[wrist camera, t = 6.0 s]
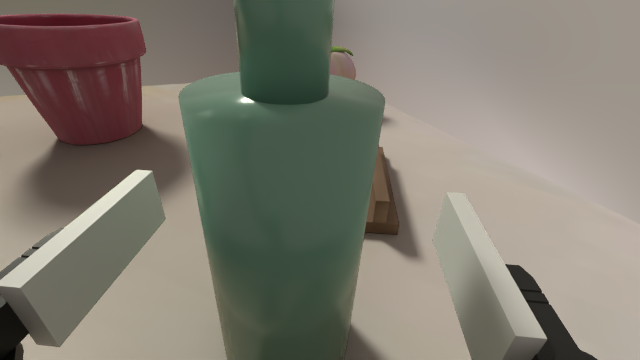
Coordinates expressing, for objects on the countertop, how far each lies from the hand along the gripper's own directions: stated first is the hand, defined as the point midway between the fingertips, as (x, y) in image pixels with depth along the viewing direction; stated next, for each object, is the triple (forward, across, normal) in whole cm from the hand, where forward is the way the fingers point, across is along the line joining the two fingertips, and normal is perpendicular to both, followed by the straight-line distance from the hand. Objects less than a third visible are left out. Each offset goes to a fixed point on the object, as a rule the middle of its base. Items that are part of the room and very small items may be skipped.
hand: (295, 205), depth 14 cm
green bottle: (-1, 0, -7) cm, 8 cm away
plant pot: (+23, -28, -8) cm, 38 cm away
